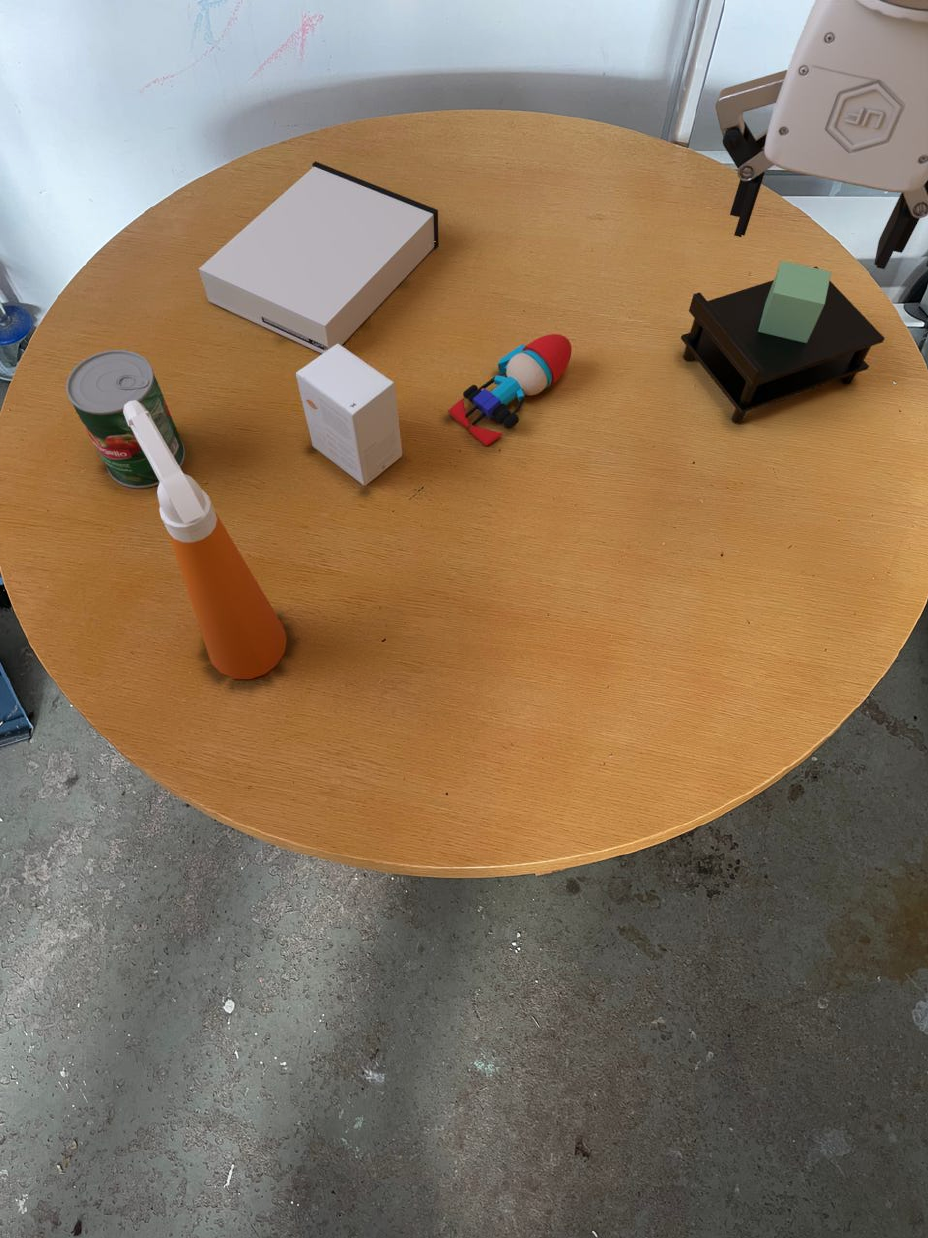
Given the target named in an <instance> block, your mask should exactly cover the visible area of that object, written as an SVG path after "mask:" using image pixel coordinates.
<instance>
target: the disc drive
mask: <svg viewBox="0 0 928 1238" xmlns="http://www.w3.org/2000/svg"><path fill="white" fill-rule="evenodd" d="M311 166H312V167H311V169H309V170H308V171H307V172H306V173H305V174H304V175H303V176H301V177H300V178H299V179H298V180H297V181H296V182H295V183H294V184H292V185H291V186H290V187H289V188H288V189H287V190H285V191H284V192H283V193H282V194H281V195H280V196H279V197H277V199H276V200H274V201H273V202H272V203H271V204H270V205H269V206H268V207H266V208H265V209H264V210H263V211H262V212H261V213H260V214H258V215H257V216H256V217H255V218H254V219H253V220H252V221H250V222H249V223H248V224H247V225H246V226H245V227H244V228H243V229H242V230H240V231H239V232H238V233H237V234H236V235H235V236H234V237H233V238H231V239H230V241H228V242H226V244H225V245H223V247H221V248H220V249H219V250H218V251H216V253H214V255H212V256H211V257H210V258H209V259H208V260H206V261H205V263H203V264H202V265H201V266H200V267H199V268H198V272H199V275H200V278H201V282H202V285H203V288H204V291H205V295H206V298H207V301H208V302H209V303H211V304H214V305H216V306H217V307H220V308H221V309H224V310H226V311H228V312H231V313H233V314H235V315H237V316H240V317H241V318H244V319H246V320H248V321H250V322H253V323H255V324H256V325H259V326H261V327H263V328H265V329H268V330H269V331H271V332H274V333H276V334H278V335H281V336H283V337H285V338H287V339H290V340H291V341H293V342H296V343H298V344H300V345H301V346H304V347H307V348H308V349H310V350H313V351H316V352H317V353H318V354H319V353H320V354H321V355H322V354H323V353H325V352H326V351H327V350H329V349H330V348H332V347H333V346H335V345H336V344H340V345H341V346H343V344H344V343H346V342H347V340H348V339H349V338H351V336H352V335H353V334H354V333H355V332H356V331H357V330H358V329H359V328H360V326H361V325H362V324H363V323H364V322H365V321H366V320H368V318H369V317H370V316H371V315H372V314H373V313H374V312H375V311H376V310H377V309H378V308H379V306H381V304H382V303H383V302H384V301H385V300H386V299H388V297H389V296H390V295H391V294H392V292H393V291H395V290H396V288H397V287H398V286H399V285H400V284H401V283H402V282H403V281H404V280H405V279H406V278H407V277H408V276H409V275H410V274H411V272H412V271H414V269H415V268H416V267H417V266H418V265H420V263H421V262H422V261H423V260H424V259H425V258H426V257H427V256H428V255H429V253H430V252H431V251H432V250H433V249H434V250H437V249H438V248H439V246H440V245H439V241H440V240H439V210H438V209H436V208H435V207H431V206H430V205H426V204H424V203H422V202H419V201H416V200H414V199H411V198H409V197H407V196H404V195H401V194H399V193H396V192H394V191H391V190H388V189H387V188H383V187H381V186H379V185H376V184H373V183H371V182H369V181H366V180H363V179H362V178H358V177H356V176H354V175H351V174H348V173H346V172H343V171H341V170H338V169H336V168H334V167H331V166H328V165H326V164H323V163H321V162H319V161H314V162H312V164H311ZM434 241H436V242H434ZM430 245H431V246H430ZM429 246H430V247H429Z"/></svg>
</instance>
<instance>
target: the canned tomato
mask: <svg viewBox="0 0 928 1238" xmlns="http://www.w3.org/2000/svg"><path fill="white" fill-rule="evenodd" d="M65 392H66V395H67V397H68V400H69V401H70V402H71V404H72V406H73V408H74V410H75V412H76V414H77V415H78V418H79V419H80V421H81V423H82V425H83V427H84V428H85V430H86V432H87V434H88V436H89V438H90V440H91V442H92V443H93V445H94V447H95V449H96V451H97V453H98V454H99V456H100V458H101V459H102V463H103V464H104V465H105V467H106V469H107V471H108V474H109V475H110V477H111V478H112V479H113V480H114V481H116V482H117V484H119V485H121V486H123V487H127V488H131V489H149V488H153V487H156V486H159V483H160V481H159V480H158V478H157V476H156V474H155V472H154V470H153V468H152V466H151V464H150V463H149V461H148V459H147V457H146V455H145V454H144V452H143V450H142V448H141V446H140V445H139V443H138V441H137V439H136V437H135V435H134V433H133V431H132V429H131V427H129V426H128V424H127V421H126V418H125V416H124V413H123V409H124V405H125V404H126V403H128V402H129V401H134V400H136V401H138V402H139V403H141V404H142V405H143V406H144V407H145V408H146V410H147V411H148V412H149V414H150V415H151V416H152V417H151V418H152V420H153V422H154V423H155V425H156V427H157V429H158V430H159V432H160V434H161V436H162V437H163V439H164V441H165V443H166V444H167V446H168V448H169V450H170V451H171V453H172V455H173V457H174V458H175V460H176V462H177V464H178V465H179V467H180V469H182V466H183V464H184V461H185V458H186V450H185V445H184V443H183V441H182V439H181V437H180V434H179V431H178V429H177V426H176V423H175V422H174V419H173V416H172V414H171V412H170V409H169V406H168V404H167V402H166V400H165V397H164V395H163V393H162V389H161V387H160V385H159V382H158V380H157V378H156V375H155V373H154V368H153V367H152V365H151V363H150V361H148V360H147V358H145V357H144V356H143V355H141V354H139V353H137V352H134V351H130V350H126V349H109V350H105V351H101V352H98V353H95V354H92V355H90V356H88V357H86V358H85V359H83V360H82V361H80V362H78V364H77V365H76V366H75V367H74V368H73V369H72V370H71V372H70V373H69V375H68V377H67V379H66V384H65Z"/></svg>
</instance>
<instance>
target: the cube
mask: <svg viewBox="0 0 928 1238" xmlns="http://www.w3.org/2000/svg"><path fill="white" fill-rule="evenodd" d="M831 276H832V271H830V270H826V269H821V268H819V269H817V268H813V267H812V266H808V265H803V264H799V263H796V262H795V263H794V262H790V261H786V260H781V261H780V263H779V266H778V268H777V271H776V273H775V276H774V279H773V280H774V281H773V284H772V286H771V289H770V292H769V294H768V297H767V300H766V303H765V307H764V311H763V315H762V319H761V322H760V326H759V330H758V332H761V333H766V334H770V335H774V336H778V337H782V338H787V339H791V340H795V341H799V342H803V343H807V342H808V340H809V338H810V335H811V333H812V331H813V329H814V327H815V324H816V322H817V320H818V318H819V316H820V313H821V311H822V309H823V307H824V305H825V301H826V296H827V291H828V286H829V281H831Z"/></svg>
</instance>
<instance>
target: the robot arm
mask: <svg viewBox="0 0 928 1238" xmlns="http://www.w3.org/2000/svg"><path fill="white" fill-rule="evenodd" d="M771 105H774V107H773V110H772V114H771V117H770V121H769V124H768V128H767V130H766V129H765V131H763V132H762V133H761V134H759V135H757V136H756V137H755V136H754V135H753V132H752V131H751V130H750V128H749V126H748V125H747V122H746V121H745V120H744V113H745V112H748V111H752V110H756V109H759V108H762V107H767V106H771ZM715 110H716V111H715V112H716V115H717V119H718V124H719V128H720V129H719V130H720V131H721V134H722V145H723V147H724V148H725V150H726V152H727V153H728V155H729V157H730V158H731V160H732V162H733V163H734V165H735V167H736V169H737V177H738V178H739V183H738V186H737V188H736V192H735V195H734V198H733V201H732V206H731V209H730V213H729V216H733V217H736V218H738V221H737V224H736V227H735V230H734V233H733V236H734V237H739V238H742V236H744V237H745V236H746V232H747V231H748V227H749V223H750V220H751V218H752V214H753V211H754V208H755V205H756V201H757V199H758V195H759V192H760V189H761V187H762V182H763V180H764V176H765V173H766V171H767V170H769V169H771V168H772V167H774V166H775V167H777V168H780V169H782V170H785V171H788V172H792V173H797V174H801V175H806V176H809V177H815V178H819V179H824V180H827V181H828V180H829V181H833V182H838V183H843V184H848V185H853V186H856V187H863V188H868V189H872V190H876V191H882V192H890V193H900V195H899V197H898V199H897V201H896V203H895V206H894V208H893V209H892V212H891V214H890V215H889V218H888V220H887V222H886V224H885V226H884V228H883V231H882V232H881V234H880V237H879V239H878V242H877V248H876V252H875V257H874V264H873V265H874V266H876V269H881V270H885V269H886V267H887V266H888V263H889V261H890V259H891V258H892V255H893V253H894V252H896V253H900V254H901V253H903V252H904V250H905V249H906V246H907V244H908V243H909V240H910V239H911V236H912V235H913V233H914V231H915V229H916V227H917V225H918V223H919V221H920V219H922V218H925V217H927V216H928V0H815V1H814V3H813V5H812V6H811V9H810V11H809V14H808V16H807V19H806V21H805V25H804V26H803V29H802V31H801V33H800V36H799V38H798V40H797V43H796V46H795V48H794V51H793V53H792V56H791V59H790V61H789V64H788V67H787V69H785V70H781V71H778V72H775V73H772V74H768V75H765V76H761V77H759V78H755V79H751V80H748V81H745V82H741V83H738V84H734V85H732V86H728V87H725V88H723V89H722V90H721V91H720V93H719V95H718V98H717V101H716V103H715Z"/></svg>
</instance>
